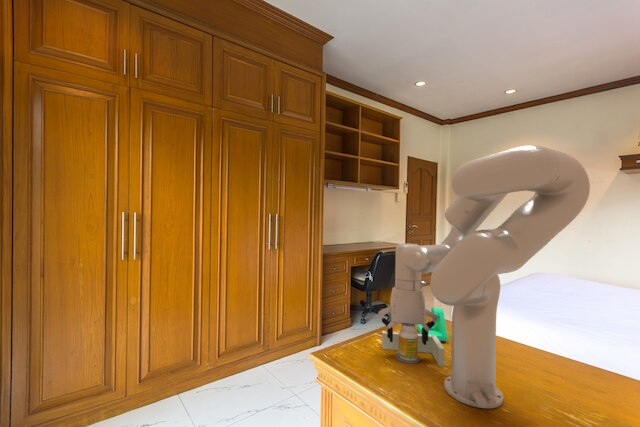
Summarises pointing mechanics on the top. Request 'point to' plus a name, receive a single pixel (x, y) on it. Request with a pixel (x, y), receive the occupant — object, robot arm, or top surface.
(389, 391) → the top surface
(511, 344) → the top surface
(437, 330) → the camera mount
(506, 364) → the top surface
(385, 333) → the corner walls
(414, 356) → the supplement bottle
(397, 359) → the pad
